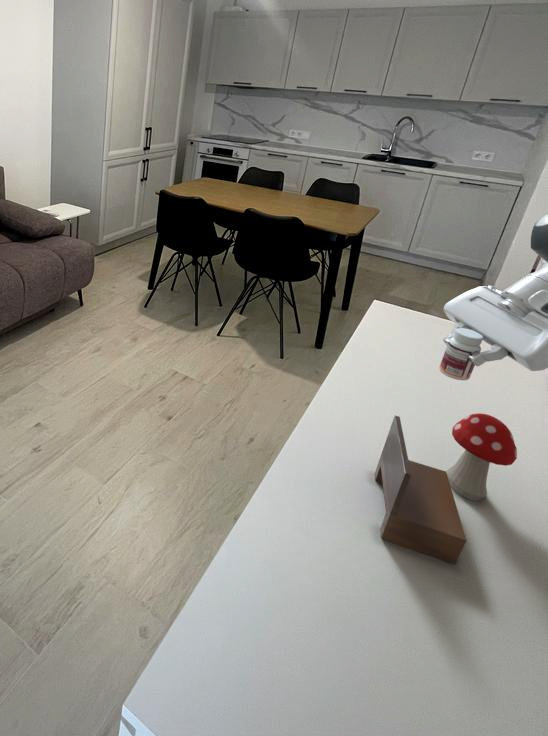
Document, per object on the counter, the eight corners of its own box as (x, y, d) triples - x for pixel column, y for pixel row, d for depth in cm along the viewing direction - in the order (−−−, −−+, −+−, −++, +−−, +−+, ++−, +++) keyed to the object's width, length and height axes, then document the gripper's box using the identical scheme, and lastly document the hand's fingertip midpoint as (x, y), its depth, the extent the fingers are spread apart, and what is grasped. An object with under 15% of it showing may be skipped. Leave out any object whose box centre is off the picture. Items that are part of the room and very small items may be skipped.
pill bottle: (456, 367, 92) (471, 327, 89) (475, 381, 88) (493, 340, 85) (432, 366, 92) (447, 326, 89) (450, 380, 88) (467, 339, 84)
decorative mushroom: (508, 509, 85) (543, 438, 80) (462, 509, 85) (494, 438, 79) (465, 467, 95) (493, 402, 89) (423, 467, 94) (448, 401, 89)
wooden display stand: (437, 493, 88) (461, 433, 83) (455, 565, 74) (486, 498, 69) (374, 473, 91) (394, 415, 87) (380, 538, 78) (405, 473, 73)
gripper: (478, 271, 94) (413, 315, 97) (581, 319, 75) (497, 372, 78) (491, 293, 96) (428, 336, 99) (595, 346, 77) (512, 397, 80)
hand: (459, 353), depth 88 cm, fingers closed on pill bottle, 5 cm apart
